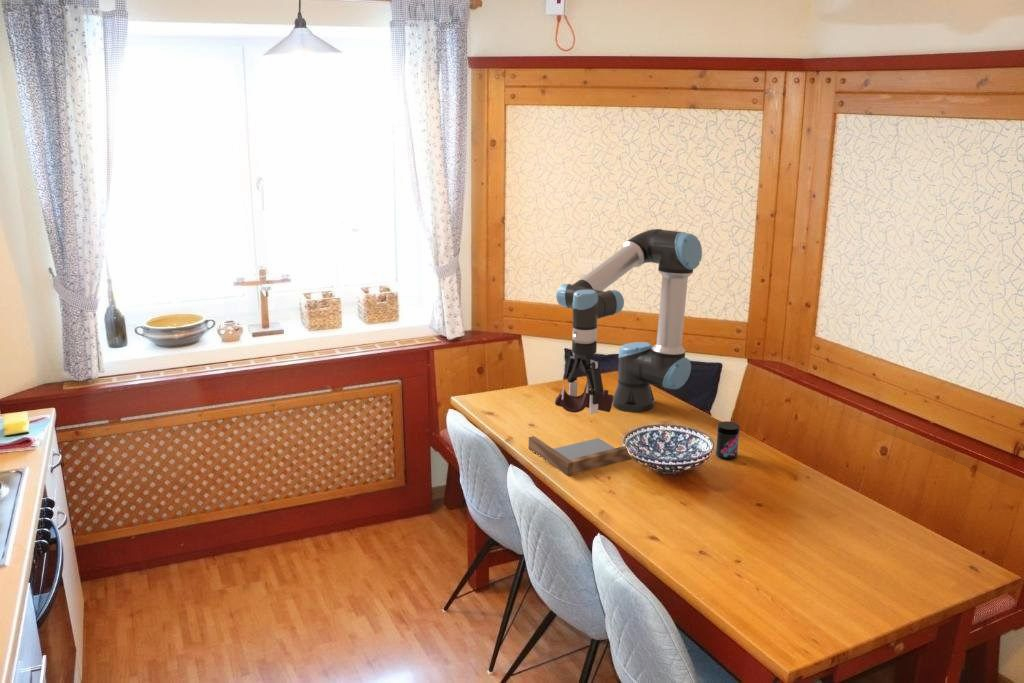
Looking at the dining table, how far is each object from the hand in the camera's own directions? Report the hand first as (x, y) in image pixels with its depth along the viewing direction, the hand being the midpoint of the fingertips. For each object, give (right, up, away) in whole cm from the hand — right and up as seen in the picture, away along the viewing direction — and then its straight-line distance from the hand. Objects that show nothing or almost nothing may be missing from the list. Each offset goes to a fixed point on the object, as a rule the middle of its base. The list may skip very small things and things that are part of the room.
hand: (583, 407), depth 271 cm
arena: (-1, -15, +2) cm, 15 cm away
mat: (0, -14, +4) cm, 15 cm away
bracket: (0, -1, 0) cm, 2 cm away
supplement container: (+45, -16, 0) cm, 48 cm away
